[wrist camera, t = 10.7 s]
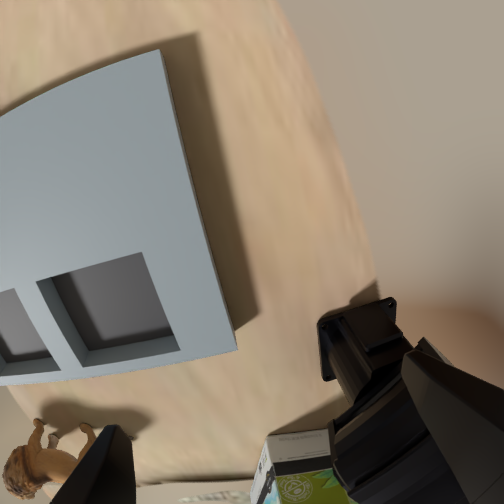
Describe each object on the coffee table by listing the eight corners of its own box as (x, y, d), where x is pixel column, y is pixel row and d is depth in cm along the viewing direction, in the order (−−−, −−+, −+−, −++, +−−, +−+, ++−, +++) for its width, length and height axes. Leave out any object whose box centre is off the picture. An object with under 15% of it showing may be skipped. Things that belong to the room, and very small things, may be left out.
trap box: (234, 331, 22) (237, 350, 20) (-9, 372, 20) (-17, 386, 19) (163, 57, 14) (159, 49, 13) (-92, 193, 13) (-106, 200, 11)
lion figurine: (36, 445, 25) (19, 505, 17) (10, 416, 23) (-14, 479, 15) (143, 445, 26) (139, 522, 18) (120, 414, 24) (108, 500, 16)
